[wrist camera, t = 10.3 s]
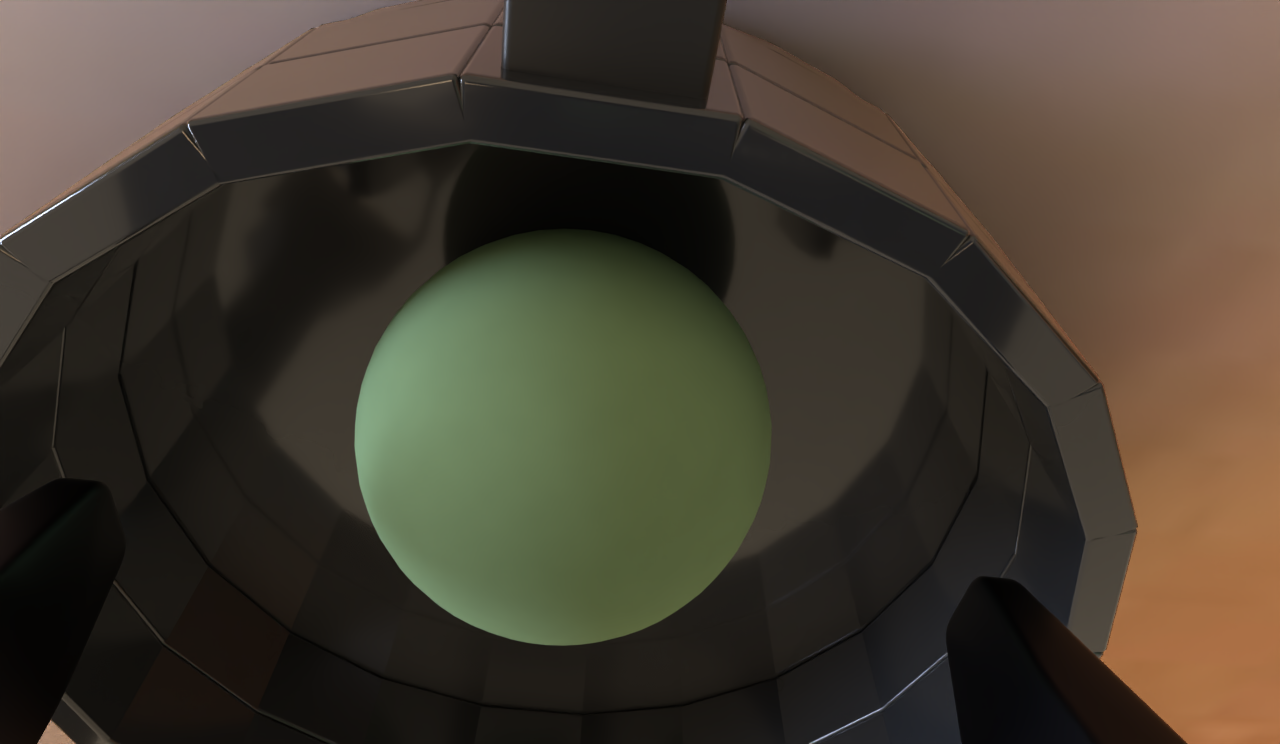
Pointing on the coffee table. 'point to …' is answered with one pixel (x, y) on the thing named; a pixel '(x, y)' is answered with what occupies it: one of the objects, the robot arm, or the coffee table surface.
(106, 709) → the pan
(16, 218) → the coffee table surface
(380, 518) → the green ball
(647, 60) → the pan handle
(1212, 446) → the coffee table surface
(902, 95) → the coffee table surface
